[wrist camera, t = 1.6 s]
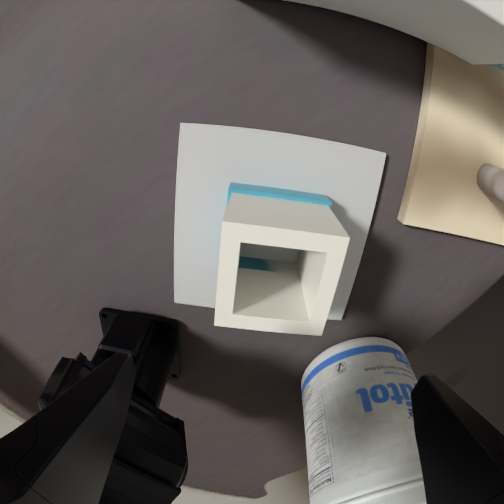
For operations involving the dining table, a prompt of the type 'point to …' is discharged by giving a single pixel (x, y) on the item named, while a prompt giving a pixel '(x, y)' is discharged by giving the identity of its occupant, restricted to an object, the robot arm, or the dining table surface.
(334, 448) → the supplement tub
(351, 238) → the mat
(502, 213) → the pin board
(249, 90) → the dining table surface
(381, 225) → the dining table surface
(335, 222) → the sleeve
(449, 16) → the skincare box
